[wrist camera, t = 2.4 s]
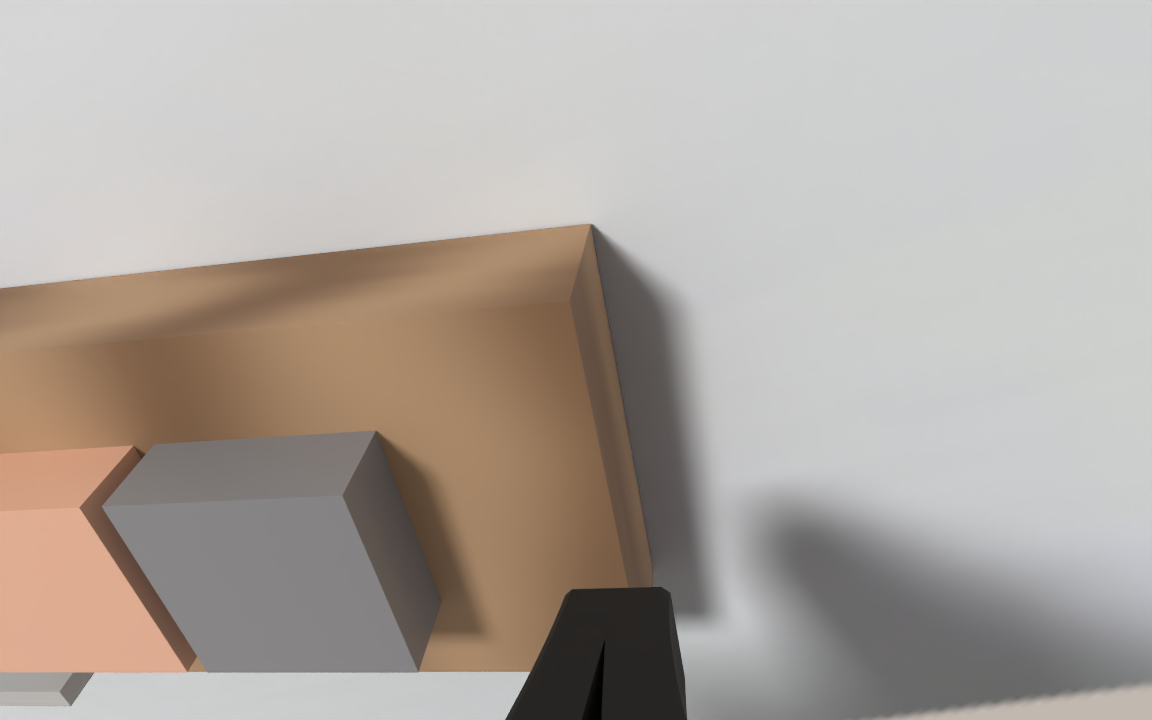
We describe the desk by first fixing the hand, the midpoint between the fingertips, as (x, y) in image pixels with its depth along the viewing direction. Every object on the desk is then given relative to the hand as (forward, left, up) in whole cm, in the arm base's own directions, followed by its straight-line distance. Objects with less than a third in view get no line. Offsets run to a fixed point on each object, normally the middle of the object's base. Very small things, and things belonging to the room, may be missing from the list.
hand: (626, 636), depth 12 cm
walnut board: (+6, 0, -5) cm, 8 cm away
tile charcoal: (+6, 0, -2) cm, 6 cm away
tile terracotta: (+10, 0, -2) cm, 11 cm away
